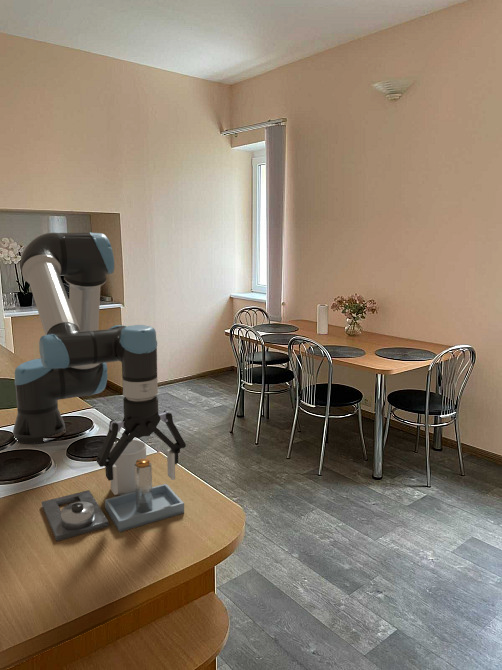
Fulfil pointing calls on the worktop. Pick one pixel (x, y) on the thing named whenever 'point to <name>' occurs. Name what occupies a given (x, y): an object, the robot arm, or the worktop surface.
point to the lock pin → (143, 486)
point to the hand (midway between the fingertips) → (143, 484)
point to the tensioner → (74, 515)
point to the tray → (163, 507)
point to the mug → (129, 465)
